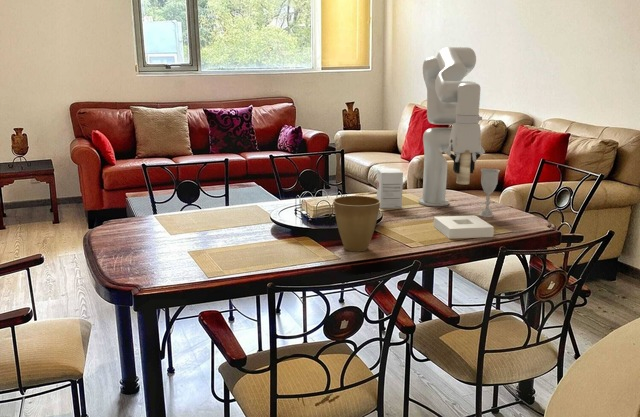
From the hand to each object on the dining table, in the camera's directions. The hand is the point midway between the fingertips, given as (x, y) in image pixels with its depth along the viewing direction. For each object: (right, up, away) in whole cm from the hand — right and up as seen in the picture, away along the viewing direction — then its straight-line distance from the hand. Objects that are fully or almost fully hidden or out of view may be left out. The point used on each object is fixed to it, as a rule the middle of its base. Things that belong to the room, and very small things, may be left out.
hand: (463, 172), depth 218 cm
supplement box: (-22, -12, +41) cm, 48 cm away
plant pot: (-38, -26, -15) cm, 49 cm away
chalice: (+15, -16, +27) cm, 35 cm away
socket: (+1, -21, +5) cm, 21 cm away
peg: (0, -4, +1) cm, 4 cm away
